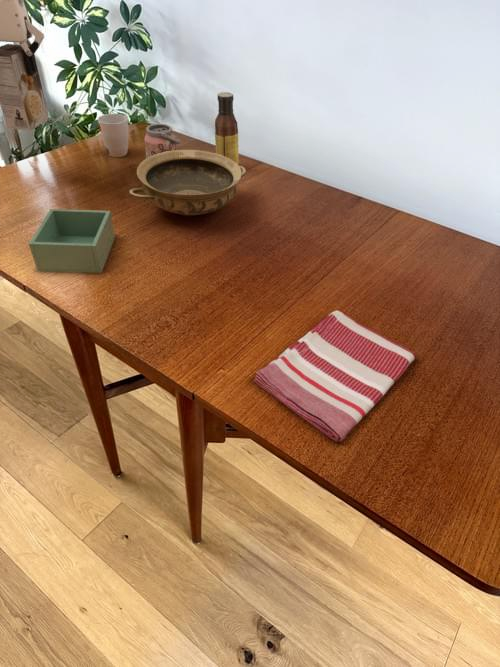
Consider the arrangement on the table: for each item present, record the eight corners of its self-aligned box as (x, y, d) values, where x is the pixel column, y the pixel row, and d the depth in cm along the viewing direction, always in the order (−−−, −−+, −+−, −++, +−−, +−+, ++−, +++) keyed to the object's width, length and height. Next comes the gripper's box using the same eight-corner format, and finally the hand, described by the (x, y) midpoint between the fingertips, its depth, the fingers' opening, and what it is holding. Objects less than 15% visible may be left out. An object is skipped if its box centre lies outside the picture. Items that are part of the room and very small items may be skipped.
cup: (110, 147, 139) (105, 112, 132) (136, 150, 138) (132, 115, 131) (99, 158, 133) (92, 121, 126) (125, 161, 132) (120, 125, 125)
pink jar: (174, 163, 132) (171, 120, 124) (186, 175, 127) (184, 130, 119) (143, 169, 129) (138, 124, 120) (154, 181, 123) (150, 135, 115)
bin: (37, 272, 92) (28, 243, 88) (57, 235, 102) (50, 208, 98) (101, 274, 93) (95, 245, 88) (115, 237, 103) (110, 210, 98)
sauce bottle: (240, 167, 132) (242, 92, 119) (235, 176, 128) (236, 99, 114) (218, 164, 133) (218, 89, 120) (212, 173, 129) (211, 96, 115)
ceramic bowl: (154, 248, 100) (149, 206, 93) (115, 201, 115) (108, 162, 108) (269, 216, 113) (272, 177, 106) (221, 177, 127) (221, 140, 120)
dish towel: (250, 383, 73) (251, 372, 72) (334, 315, 87) (337, 304, 85) (338, 447, 66) (342, 436, 64) (416, 361, 79) (421, 350, 77)
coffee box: (26, 116, 117) (7, 42, 106) (50, 119, 117) (33, 45, 106) (6, 128, 110) (-17, 51, 100) (31, 131, 110) (11, 54, 99)
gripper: (40, -23, 97) (59, 71, 109) (-45, -29, 96) (-17, 66, 108) (28, -19, 92) (49, 80, 104) (-62, -26, 91) (-31, 75, 103)
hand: (15, 72), depth 106 cm, fingers closed on coffee box, 7 cm apart
